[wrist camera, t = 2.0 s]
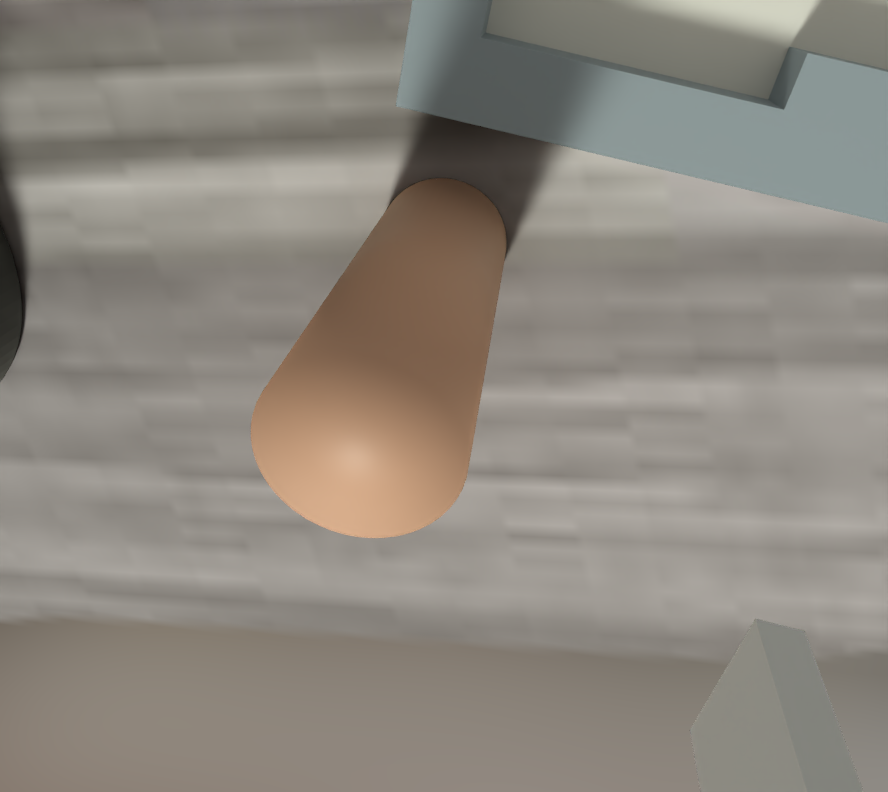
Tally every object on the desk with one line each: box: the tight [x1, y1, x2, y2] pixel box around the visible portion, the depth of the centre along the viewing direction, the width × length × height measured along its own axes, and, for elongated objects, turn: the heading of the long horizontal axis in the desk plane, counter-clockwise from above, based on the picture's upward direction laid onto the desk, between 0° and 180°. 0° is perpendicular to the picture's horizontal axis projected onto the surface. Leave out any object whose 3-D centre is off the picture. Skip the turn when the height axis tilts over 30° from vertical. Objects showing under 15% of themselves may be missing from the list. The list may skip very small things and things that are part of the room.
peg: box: [251, 178, 507, 538], centre depth 21 cm, size 4×4×13 cm
